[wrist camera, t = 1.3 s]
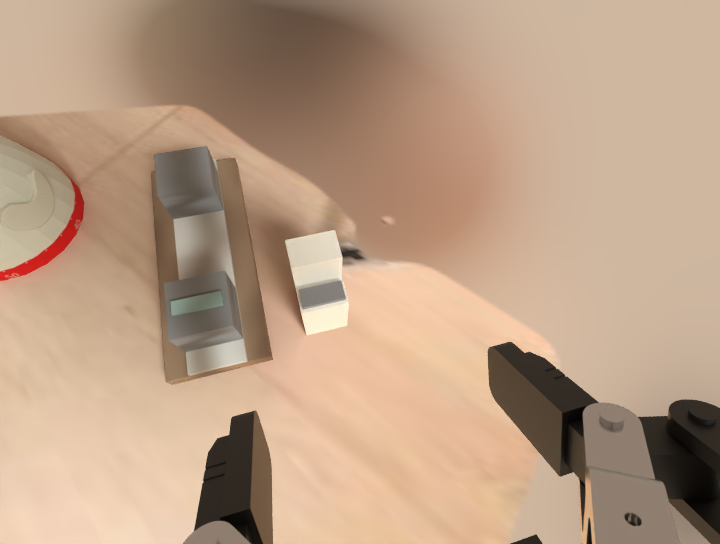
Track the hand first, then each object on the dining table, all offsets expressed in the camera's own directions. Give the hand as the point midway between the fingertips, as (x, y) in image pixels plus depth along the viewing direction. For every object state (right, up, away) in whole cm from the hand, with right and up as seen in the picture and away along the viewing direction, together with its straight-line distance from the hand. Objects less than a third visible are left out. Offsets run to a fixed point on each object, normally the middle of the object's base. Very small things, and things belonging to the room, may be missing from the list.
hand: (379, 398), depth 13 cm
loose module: (-5, +1, +26) cm, 27 cm away
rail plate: (-16, +5, +27) cm, 32 cm away
